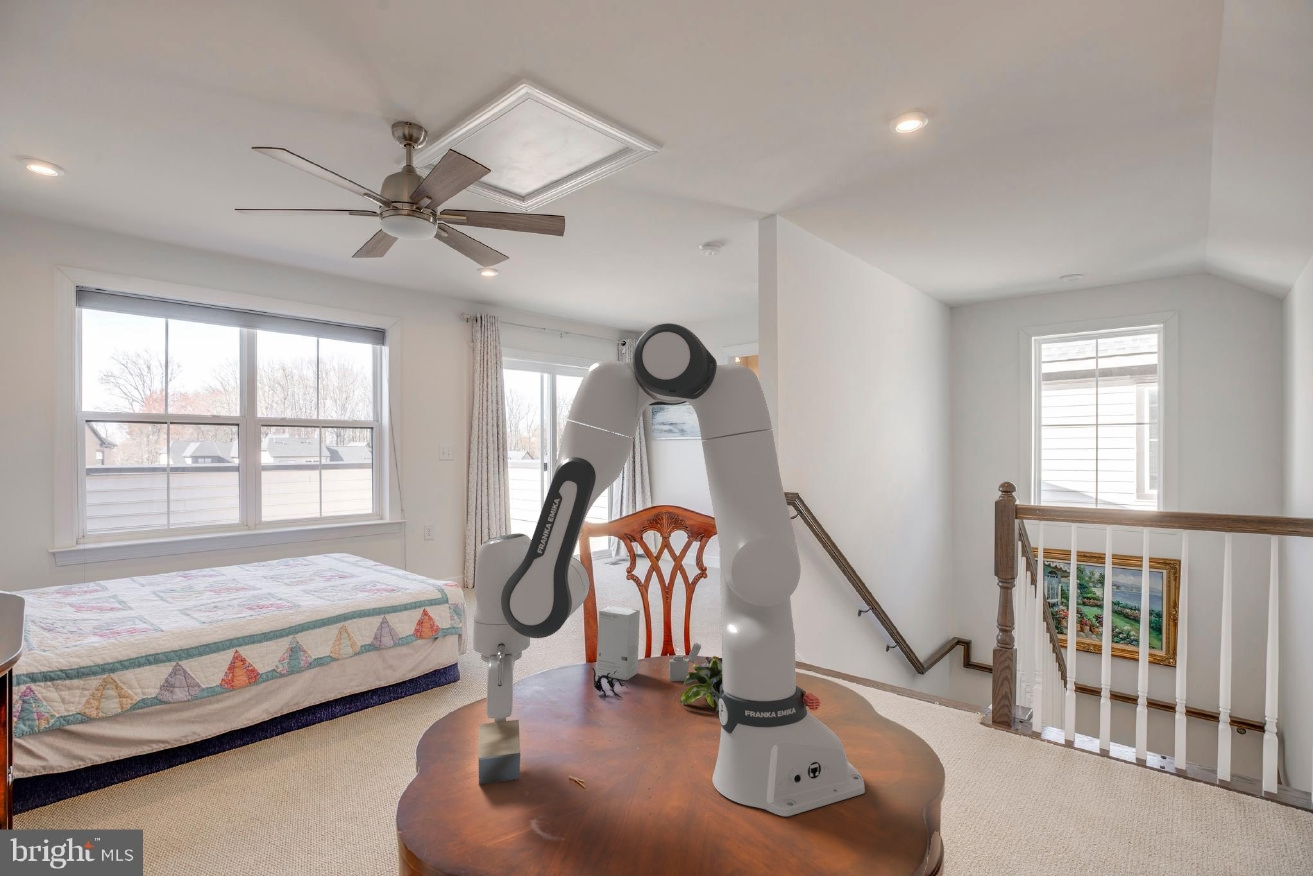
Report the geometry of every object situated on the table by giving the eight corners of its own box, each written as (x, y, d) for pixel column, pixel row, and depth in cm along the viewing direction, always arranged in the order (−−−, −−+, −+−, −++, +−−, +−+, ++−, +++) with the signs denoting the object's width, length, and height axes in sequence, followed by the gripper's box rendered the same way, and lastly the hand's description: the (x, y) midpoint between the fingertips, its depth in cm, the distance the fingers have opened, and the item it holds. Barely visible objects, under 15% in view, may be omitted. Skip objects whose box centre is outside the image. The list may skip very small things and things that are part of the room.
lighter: (670, 681, 137) (670, 645, 138) (669, 678, 139) (669, 642, 140) (701, 680, 138) (701, 643, 138) (700, 677, 140) (700, 641, 140)
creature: (621, 690, 135) (586, 686, 133) (627, 665, 136) (592, 661, 134) (631, 703, 128) (594, 699, 126) (636, 677, 129) (599, 672, 126)
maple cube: (518, 719, 98) (520, 754, 92) (517, 744, 100) (519, 779, 95) (479, 724, 96) (478, 760, 91) (479, 748, 99) (478, 784, 94)
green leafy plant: (715, 725, 127) (746, 674, 130) (724, 738, 116) (757, 682, 119) (670, 693, 128) (701, 642, 131) (674, 703, 117) (708, 648, 120)
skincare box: (595, 676, 141) (595, 610, 142) (608, 668, 147) (608, 604, 147) (628, 681, 138) (628, 613, 138) (640, 672, 143) (640, 608, 144)
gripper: (522, 654, 89) (521, 752, 89) (521, 619, 109) (520, 698, 109) (477, 657, 88) (475, 756, 88) (484, 621, 108) (483, 701, 107)
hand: (500, 724), depth 98 cm, fingers closed
